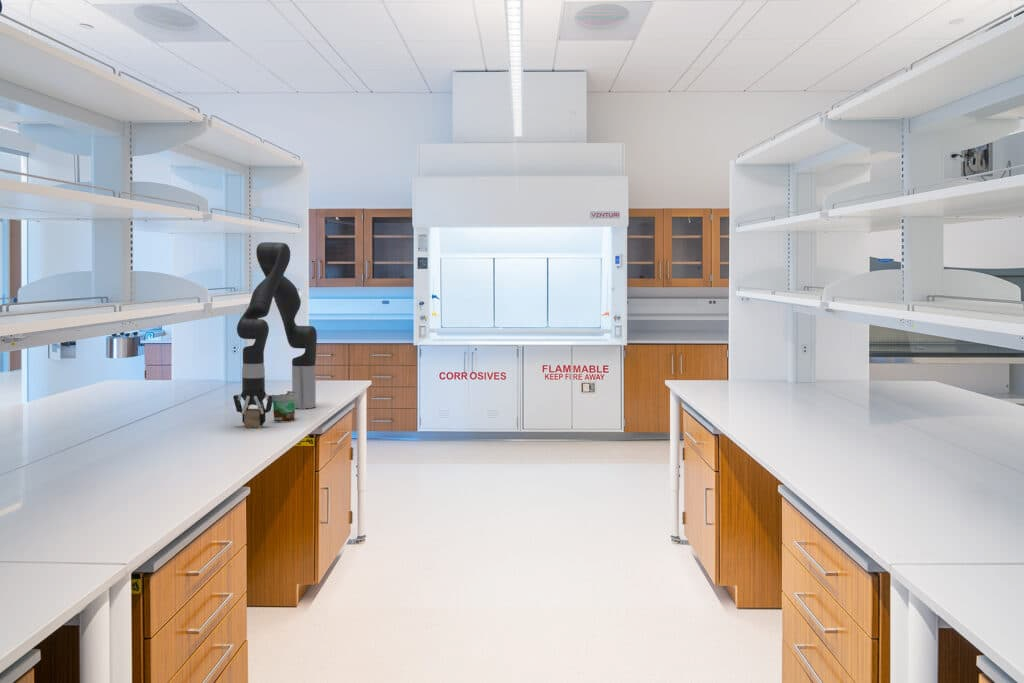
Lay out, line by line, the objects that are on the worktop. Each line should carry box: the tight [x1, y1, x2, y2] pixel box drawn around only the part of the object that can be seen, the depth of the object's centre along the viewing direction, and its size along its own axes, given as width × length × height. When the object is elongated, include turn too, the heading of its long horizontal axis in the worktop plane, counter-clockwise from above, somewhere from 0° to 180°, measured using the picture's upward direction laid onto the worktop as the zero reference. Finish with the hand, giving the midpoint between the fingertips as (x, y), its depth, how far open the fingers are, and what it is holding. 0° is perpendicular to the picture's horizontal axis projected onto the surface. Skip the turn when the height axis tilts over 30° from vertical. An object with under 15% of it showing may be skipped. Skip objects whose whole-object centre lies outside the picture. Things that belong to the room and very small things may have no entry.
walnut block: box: [243, 408, 263, 428], centre depth 276 cm, size 5×5×6 cm
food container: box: [272, 390, 297, 422], centre depth 290 cm, size 12×6×10 cm, turn 168°
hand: (253, 423), depth 277 cm, fingers closed on walnut block, 5 cm apart
